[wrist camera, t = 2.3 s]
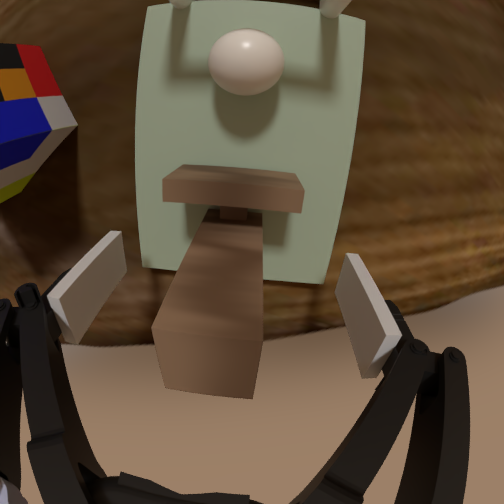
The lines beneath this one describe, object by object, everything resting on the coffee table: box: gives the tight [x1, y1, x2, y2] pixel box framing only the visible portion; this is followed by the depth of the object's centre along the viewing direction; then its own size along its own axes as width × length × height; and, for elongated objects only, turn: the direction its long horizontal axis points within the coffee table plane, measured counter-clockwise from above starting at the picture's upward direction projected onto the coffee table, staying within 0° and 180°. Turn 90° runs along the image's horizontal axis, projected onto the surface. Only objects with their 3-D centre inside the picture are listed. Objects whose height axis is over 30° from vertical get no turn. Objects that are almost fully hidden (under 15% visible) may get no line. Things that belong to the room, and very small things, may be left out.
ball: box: [208, 28, 285, 96], centre depth 12 cm, size 4×4×4 cm
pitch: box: [135, 0, 365, 284], centre depth 12 cm, size 14×26×8 cm, turn 175°
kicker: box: [151, 164, 305, 399], centre depth 13 cm, size 7×6×11 cm
